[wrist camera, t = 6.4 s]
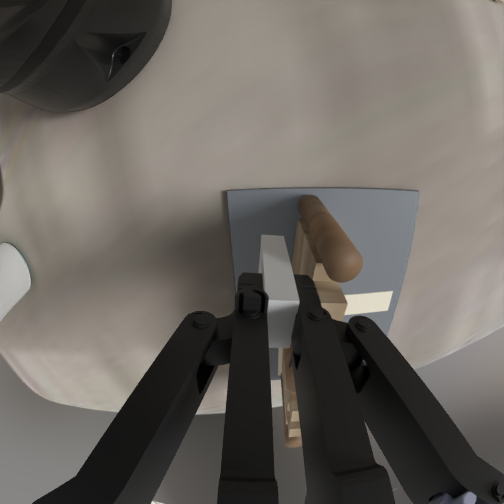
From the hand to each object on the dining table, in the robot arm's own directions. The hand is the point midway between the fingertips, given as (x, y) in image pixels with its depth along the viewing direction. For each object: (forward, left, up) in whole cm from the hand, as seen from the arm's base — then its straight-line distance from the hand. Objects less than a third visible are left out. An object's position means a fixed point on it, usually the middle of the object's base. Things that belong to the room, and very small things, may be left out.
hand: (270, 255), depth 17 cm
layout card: (+5, -8, -5) cm, 11 cm away
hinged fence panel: (+3, -2, -4) cm, 5 cm away
